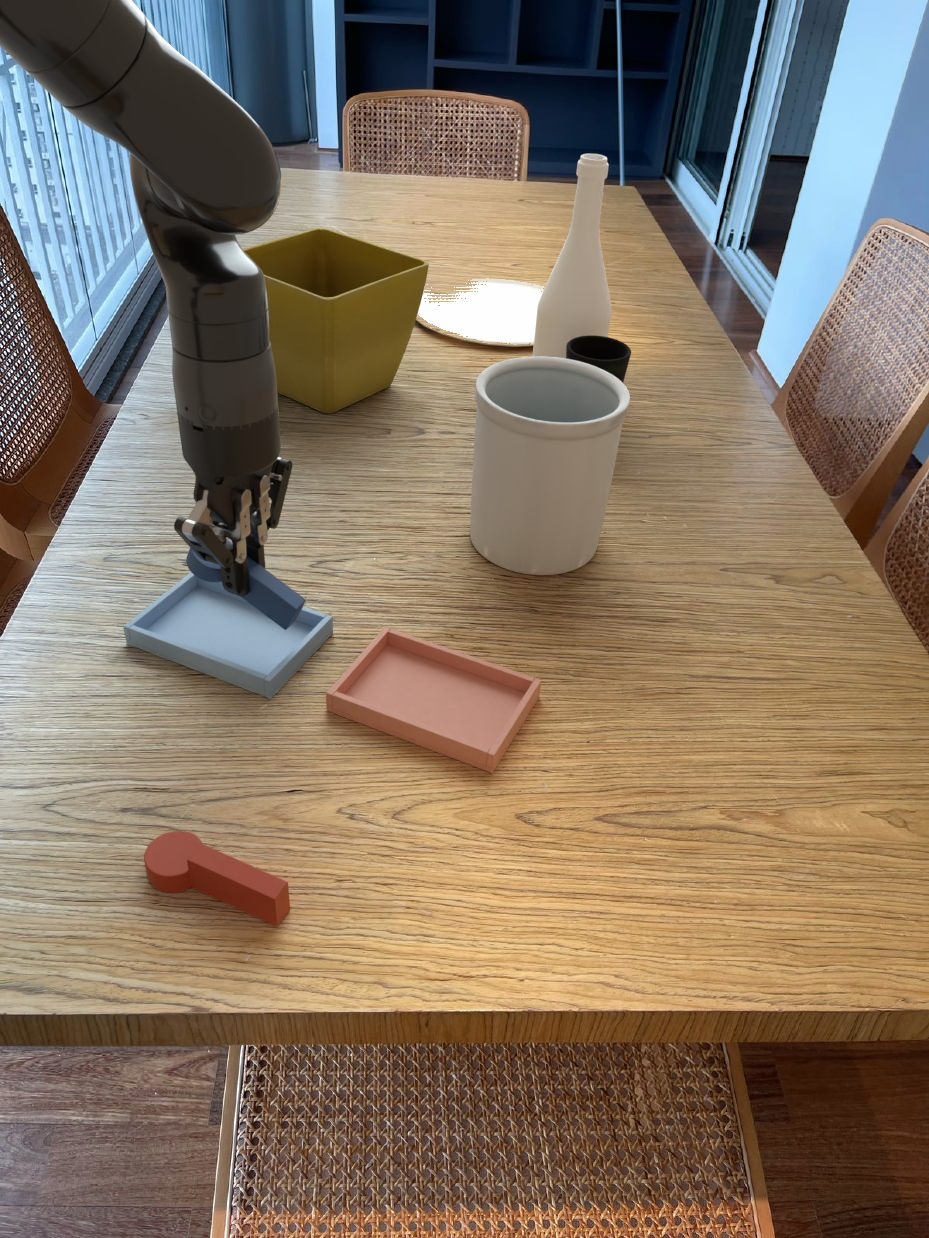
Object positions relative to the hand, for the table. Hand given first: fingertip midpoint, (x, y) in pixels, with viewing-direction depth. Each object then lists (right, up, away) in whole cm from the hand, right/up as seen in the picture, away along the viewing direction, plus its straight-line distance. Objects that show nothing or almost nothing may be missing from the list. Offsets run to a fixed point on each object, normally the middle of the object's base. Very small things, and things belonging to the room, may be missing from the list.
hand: (245, 585), depth 86 cm
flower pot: (+1, +28, +47) cm, 55 cm away
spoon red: (+2, -21, -17) cm, 27 cm away
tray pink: (+16, -10, -1) cm, 19 cm away
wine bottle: (+32, +28, +50) cm, 66 cm away
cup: (+34, +20, +40) cm, 56 cm away
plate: (+24, +45, +72) cm, 88 cm away
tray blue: (-2, -5, +5) cm, 7 cm away
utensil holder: (+26, +5, +21) cm, 34 cm away
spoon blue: (-1, 0, 0) cm, 1 cm away
